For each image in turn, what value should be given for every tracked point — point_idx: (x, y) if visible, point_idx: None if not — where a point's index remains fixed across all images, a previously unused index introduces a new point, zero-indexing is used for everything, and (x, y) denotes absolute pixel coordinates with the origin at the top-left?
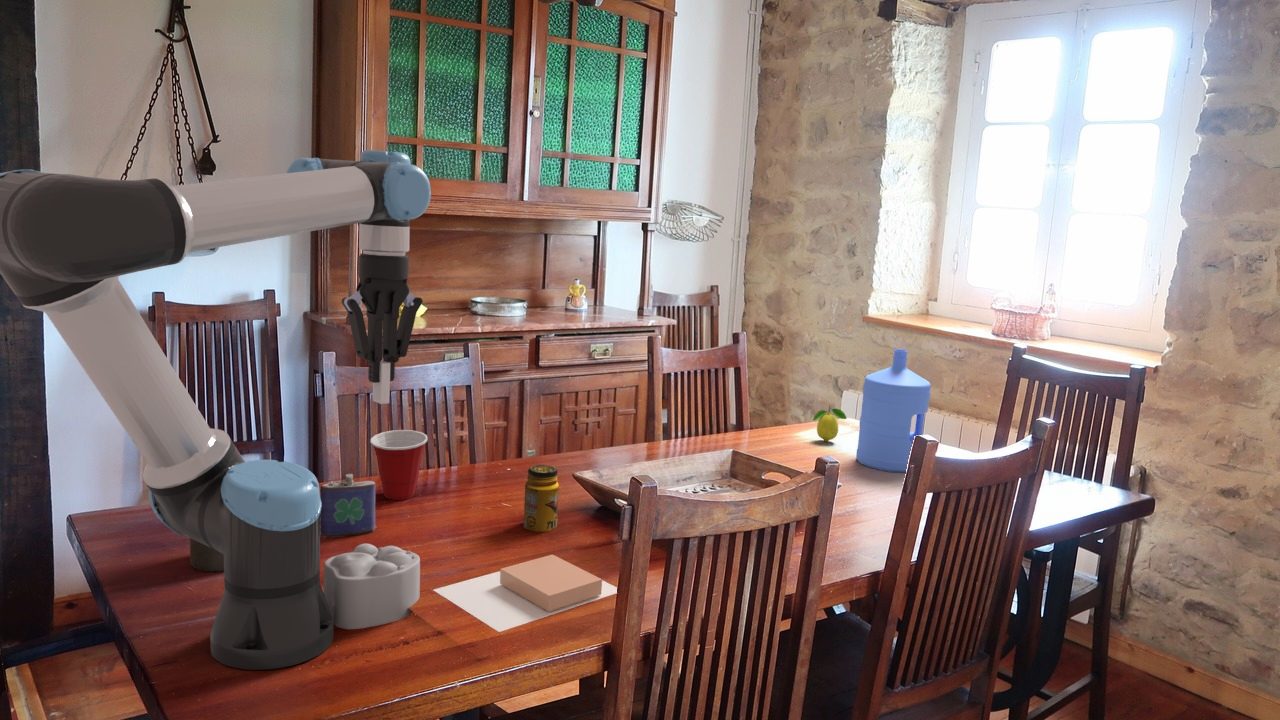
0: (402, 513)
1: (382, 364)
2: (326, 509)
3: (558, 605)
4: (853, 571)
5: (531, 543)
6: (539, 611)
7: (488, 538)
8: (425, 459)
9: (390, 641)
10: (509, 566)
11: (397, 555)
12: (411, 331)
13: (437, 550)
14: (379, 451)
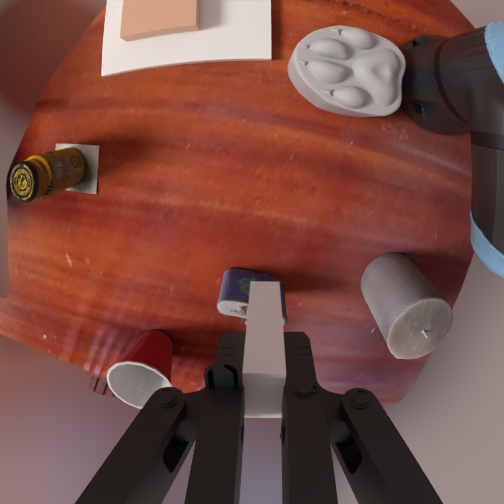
0: (174, 299)
1: (281, 370)
2: (282, 300)
3: None
4: None
5: (93, 139)
6: None
7: (124, 178)
8: (105, 394)
9: (356, 14)
10: (182, 25)
11: (335, 41)
12: (96, 477)
13: (192, 176)
14: (169, 380)
